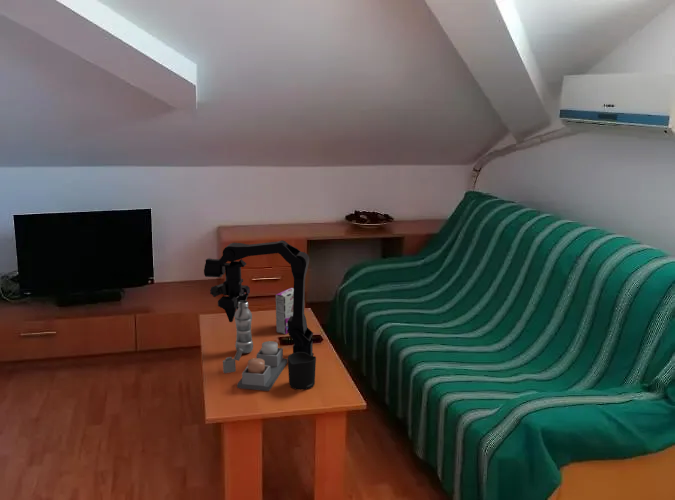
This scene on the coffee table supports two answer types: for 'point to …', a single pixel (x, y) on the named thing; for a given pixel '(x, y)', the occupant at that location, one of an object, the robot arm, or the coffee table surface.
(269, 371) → the twin socket base plate
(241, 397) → the coffee table surface
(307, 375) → the pen holder
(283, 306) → the candy bar box
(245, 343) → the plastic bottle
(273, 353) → the grey button
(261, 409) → the coffee table surface
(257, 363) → the terracotta button
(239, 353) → the lighter
